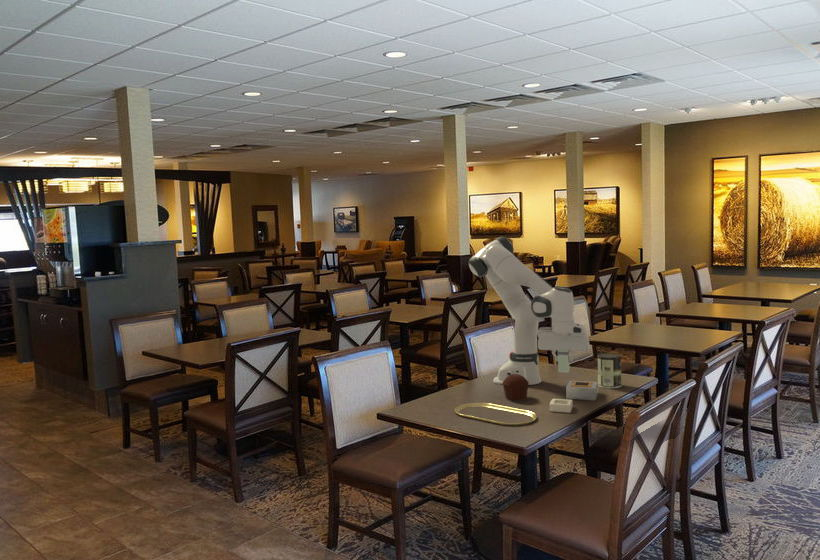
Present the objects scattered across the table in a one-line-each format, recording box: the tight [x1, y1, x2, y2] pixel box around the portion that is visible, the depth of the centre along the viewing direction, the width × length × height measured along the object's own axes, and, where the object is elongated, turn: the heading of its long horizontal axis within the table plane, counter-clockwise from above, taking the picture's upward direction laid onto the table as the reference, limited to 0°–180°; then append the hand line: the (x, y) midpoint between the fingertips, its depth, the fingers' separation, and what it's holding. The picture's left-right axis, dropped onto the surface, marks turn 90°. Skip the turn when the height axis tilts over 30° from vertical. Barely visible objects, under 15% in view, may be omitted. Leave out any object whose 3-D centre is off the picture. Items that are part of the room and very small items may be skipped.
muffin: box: [501, 374, 529, 402], centre depth 277 cm, size 12×11×10 cm
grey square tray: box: [549, 398, 573, 414], centre depth 258 cm, size 8×8×3 cm
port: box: [565, 380, 599, 401], centre depth 276 cm, size 12×12×5 cm
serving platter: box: [454, 402, 538, 427], centre depth 254 cm, size 19×35×2 cm, turn 48°
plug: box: [556, 350, 571, 374], centre depth 259 cm, size 4×4×9 cm
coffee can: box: [597, 352, 622, 389], centre depth 291 cm, size 10×10×14 cm
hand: (563, 361), depth 259 cm, fingers closed on plug, 4 cm apart
